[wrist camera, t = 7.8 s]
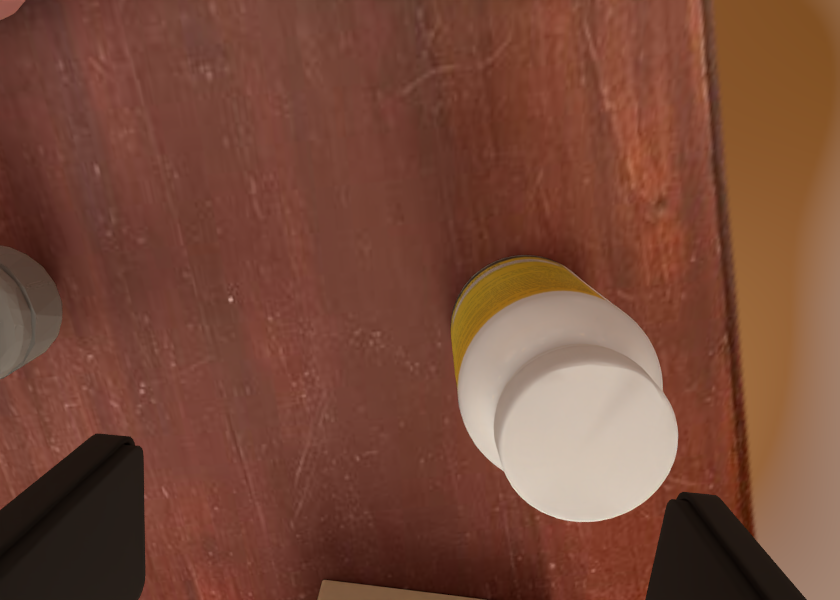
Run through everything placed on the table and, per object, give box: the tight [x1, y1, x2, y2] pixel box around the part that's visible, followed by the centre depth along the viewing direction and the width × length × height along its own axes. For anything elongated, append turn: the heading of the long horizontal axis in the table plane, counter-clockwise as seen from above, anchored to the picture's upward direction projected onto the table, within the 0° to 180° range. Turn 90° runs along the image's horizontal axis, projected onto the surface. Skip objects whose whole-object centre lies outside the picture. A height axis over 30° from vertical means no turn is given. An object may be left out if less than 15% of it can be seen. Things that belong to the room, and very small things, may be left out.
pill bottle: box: [451, 255, 678, 522], centre depth 21 cm, size 6×6×12 cm
